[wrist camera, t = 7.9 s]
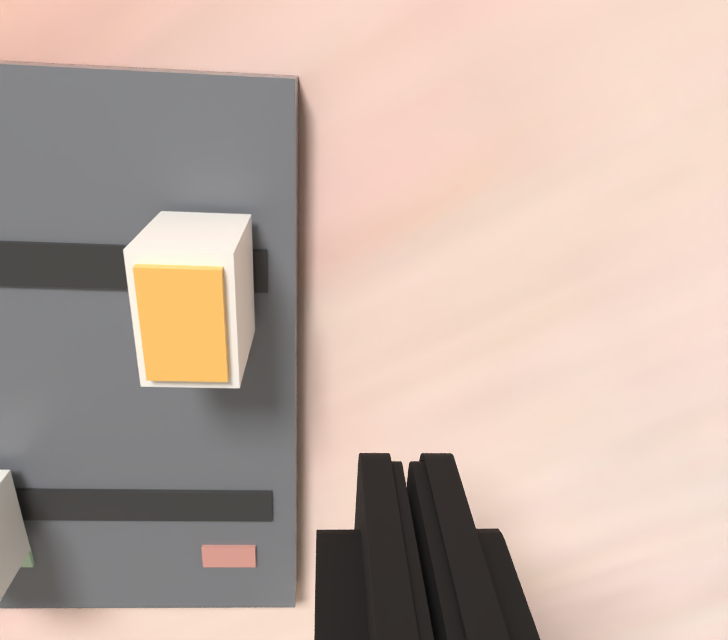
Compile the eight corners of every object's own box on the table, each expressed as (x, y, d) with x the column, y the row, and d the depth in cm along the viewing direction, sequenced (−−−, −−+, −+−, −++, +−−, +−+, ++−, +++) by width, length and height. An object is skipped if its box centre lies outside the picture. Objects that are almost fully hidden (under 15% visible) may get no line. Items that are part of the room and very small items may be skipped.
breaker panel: (297, 75, 20) (295, 79, 19) (296, 582, 31) (294, 610, 29) (-200, 50, 19) (-246, 52, 18) (-29, 582, 30) (-49, 612, 28)
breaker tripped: (251, 214, 20) (231, 257, 16) (254, 330, 22) (238, 393, 18) (161, 211, 20) (119, 253, 16) (172, 328, 22) (137, 391, 18)
